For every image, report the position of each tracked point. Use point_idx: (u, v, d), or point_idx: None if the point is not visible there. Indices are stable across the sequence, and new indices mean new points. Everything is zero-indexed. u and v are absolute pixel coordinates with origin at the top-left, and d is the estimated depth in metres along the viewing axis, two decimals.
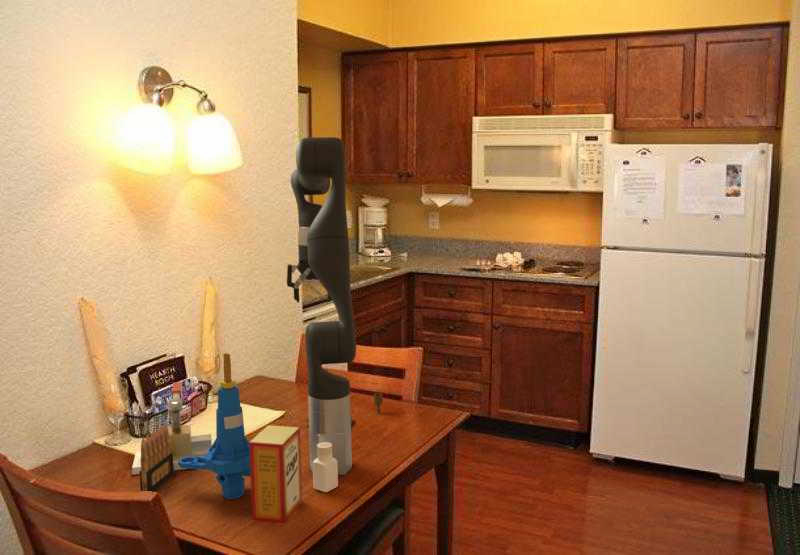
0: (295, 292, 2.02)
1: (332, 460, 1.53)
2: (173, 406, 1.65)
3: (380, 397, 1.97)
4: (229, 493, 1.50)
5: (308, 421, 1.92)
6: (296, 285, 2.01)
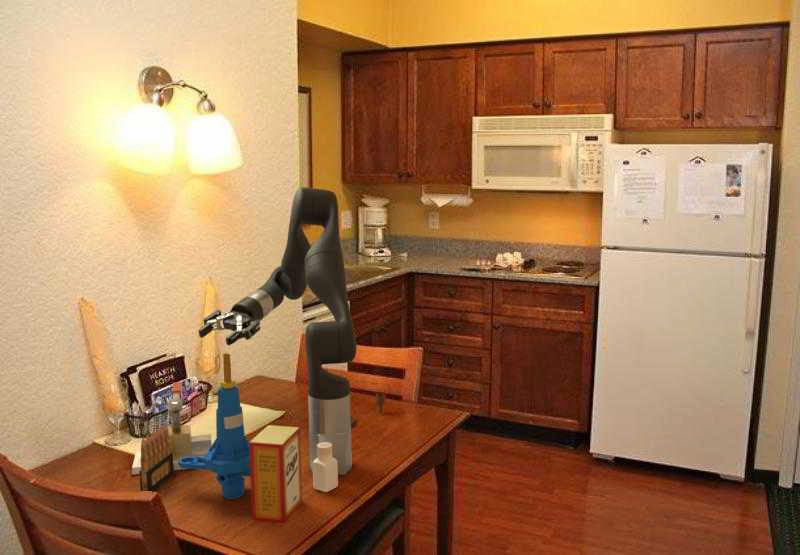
0: (204, 326, 1.87)
1: (332, 460, 1.53)
2: (173, 406, 1.65)
3: (382, 397, 1.97)
4: (229, 493, 1.50)
5: None
6: (210, 321, 1.89)
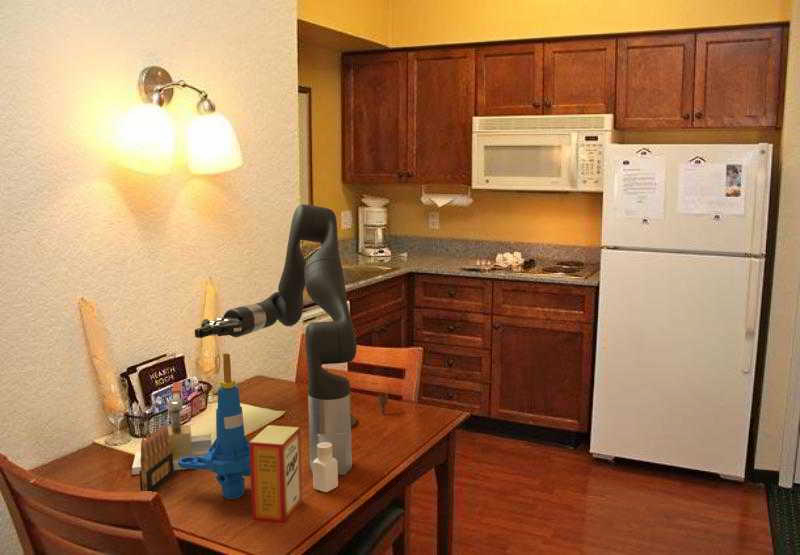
0: None
1: (332, 460, 1.53)
2: (173, 406, 1.65)
3: (385, 397, 1.97)
4: (229, 493, 1.50)
5: None
6: (207, 324, 1.85)
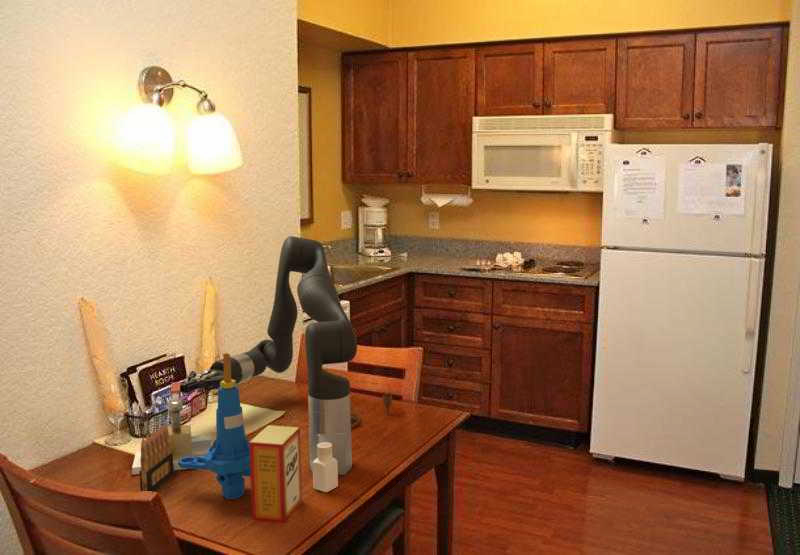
0: None
1: (332, 460, 1.53)
2: (173, 406, 1.65)
3: (389, 398, 1.97)
4: (229, 493, 1.50)
5: None
6: (193, 378, 1.82)
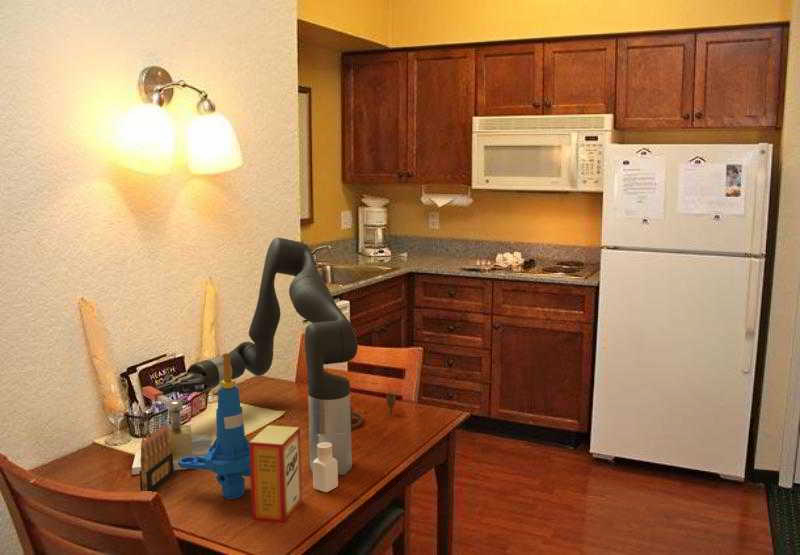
0: None
1: (332, 460, 1.53)
2: (177, 405, 1.65)
3: (392, 399, 1.96)
4: (229, 493, 1.50)
5: None
6: None
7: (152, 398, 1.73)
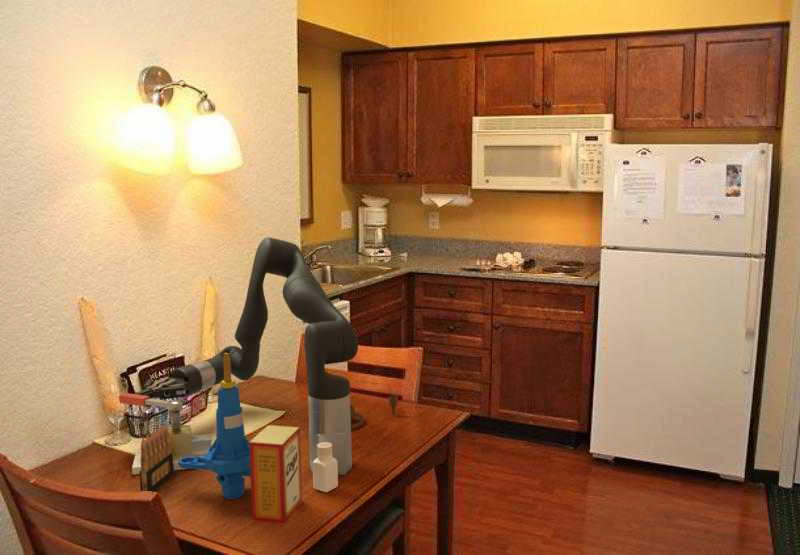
0: None
1: (332, 460, 1.53)
2: (179, 405, 1.66)
3: (395, 399, 1.96)
4: (229, 493, 1.50)
5: None
6: (149, 386, 1.76)
7: (138, 403, 1.69)
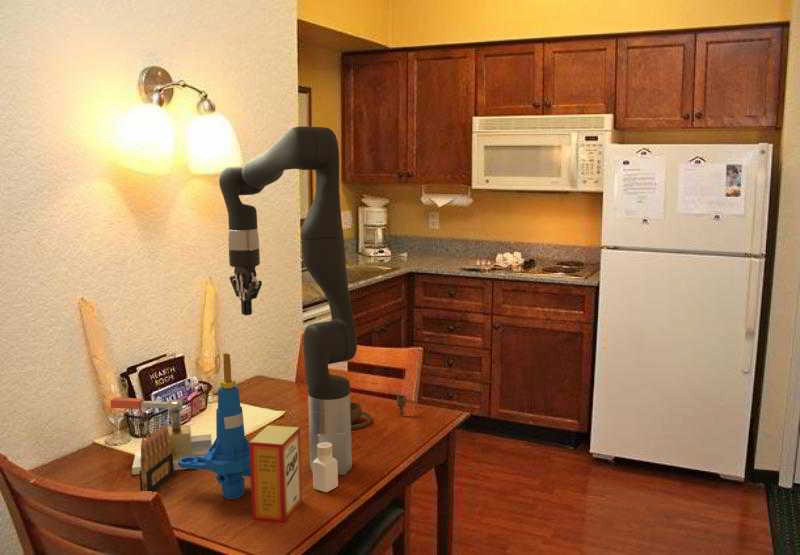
0: None
1: (332, 460, 1.53)
2: (181, 404, 1.66)
3: (402, 399, 1.95)
4: (229, 493, 1.50)
5: None
6: (239, 296, 1.87)
7: (133, 407, 1.67)
